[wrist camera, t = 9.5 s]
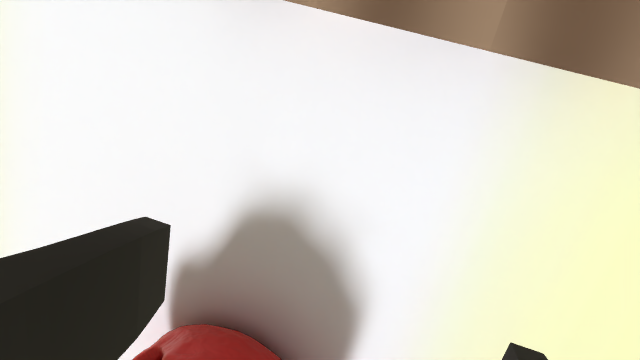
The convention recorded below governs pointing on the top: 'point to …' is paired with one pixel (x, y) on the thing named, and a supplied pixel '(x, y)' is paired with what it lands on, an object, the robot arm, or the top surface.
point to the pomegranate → (206, 345)
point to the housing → (520, 29)
